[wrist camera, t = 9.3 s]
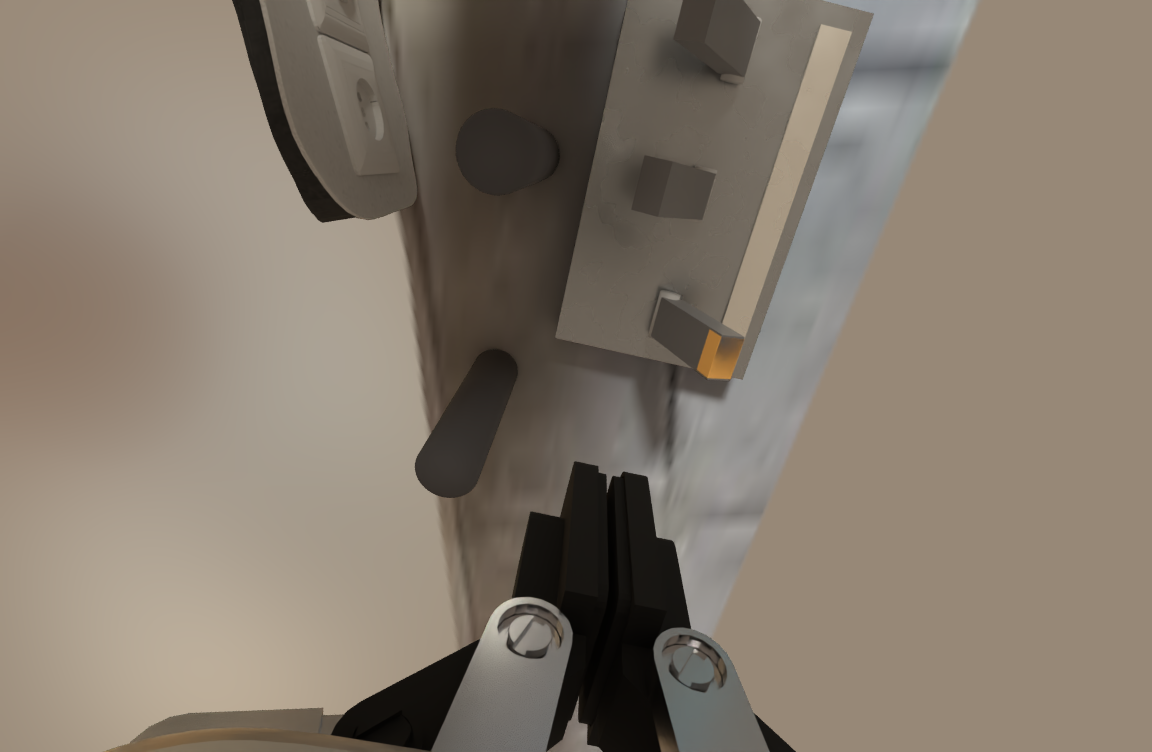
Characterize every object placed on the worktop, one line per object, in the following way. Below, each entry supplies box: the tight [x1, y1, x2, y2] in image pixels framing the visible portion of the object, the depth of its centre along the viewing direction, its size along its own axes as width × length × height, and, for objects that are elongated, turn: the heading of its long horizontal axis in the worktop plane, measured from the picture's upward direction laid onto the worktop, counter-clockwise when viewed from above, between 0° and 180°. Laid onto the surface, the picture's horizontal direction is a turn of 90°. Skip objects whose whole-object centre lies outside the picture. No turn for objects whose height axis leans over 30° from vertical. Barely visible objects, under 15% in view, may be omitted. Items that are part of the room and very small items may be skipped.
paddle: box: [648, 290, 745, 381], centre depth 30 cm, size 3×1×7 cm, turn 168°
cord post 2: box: [456, 108, 560, 195], centre depth 27 cm, size 3×3×13 cm
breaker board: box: [555, 0, 874, 380], centre depth 32 cm, size 20×12×3 cm, turn 168°
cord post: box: [415, 349, 518, 498], centre depth 32 cm, size 3×3×13 cm
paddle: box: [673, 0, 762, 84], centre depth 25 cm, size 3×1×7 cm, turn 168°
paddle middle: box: [631, 155, 718, 223], centre depth 28 cm, size 3×1×7 cm, turn 168°
